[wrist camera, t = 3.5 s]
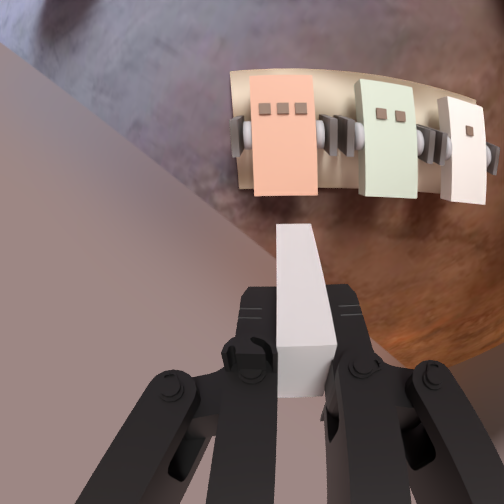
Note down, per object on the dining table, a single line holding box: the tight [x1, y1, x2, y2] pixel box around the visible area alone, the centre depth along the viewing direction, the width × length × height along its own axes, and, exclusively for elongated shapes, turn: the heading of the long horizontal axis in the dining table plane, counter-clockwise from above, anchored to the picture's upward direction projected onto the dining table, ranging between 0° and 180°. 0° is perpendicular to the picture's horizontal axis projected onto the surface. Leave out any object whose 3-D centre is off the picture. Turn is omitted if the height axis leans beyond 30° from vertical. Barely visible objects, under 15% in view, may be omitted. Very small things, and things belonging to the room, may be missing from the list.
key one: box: [437, 96, 491, 205], centre depth 19 cm, size 10×6×2 cm, turn 3°
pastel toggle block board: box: [229, 69, 500, 194], centre depth 21 cm, size 12×27×6 cm, turn 93°
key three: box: [243, 75, 325, 196], centre depth 21 cm, size 10×6×2 cm, turn 3°
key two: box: [354, 79, 424, 199], centre depth 20 cm, size 10×6×2 cm, turn 3°
